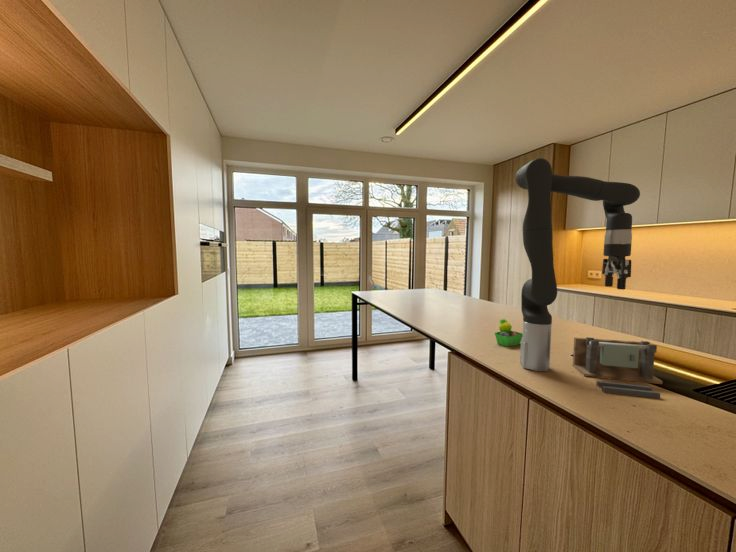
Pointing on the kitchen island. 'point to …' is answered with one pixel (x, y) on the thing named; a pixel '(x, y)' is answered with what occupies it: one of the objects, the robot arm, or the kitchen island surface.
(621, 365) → the door
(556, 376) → the kitchen island surface
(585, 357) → the cabinet frame
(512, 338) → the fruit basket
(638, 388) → the door rack
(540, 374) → the kitchen island surface
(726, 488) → the kitchen island surface
